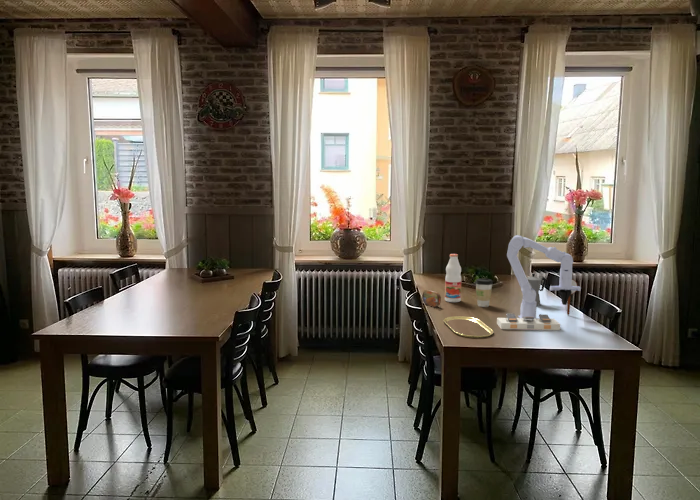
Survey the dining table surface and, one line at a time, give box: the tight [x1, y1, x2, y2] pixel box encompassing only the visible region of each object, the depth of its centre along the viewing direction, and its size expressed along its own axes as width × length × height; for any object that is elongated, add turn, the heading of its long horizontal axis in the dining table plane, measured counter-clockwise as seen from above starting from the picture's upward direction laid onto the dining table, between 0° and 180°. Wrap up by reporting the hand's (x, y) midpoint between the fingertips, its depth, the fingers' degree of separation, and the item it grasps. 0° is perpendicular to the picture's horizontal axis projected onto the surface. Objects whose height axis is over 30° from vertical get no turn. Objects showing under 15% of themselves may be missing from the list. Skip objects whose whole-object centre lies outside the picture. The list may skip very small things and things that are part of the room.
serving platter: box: [443, 315, 494, 339], centre depth 262 cm, size 19×35×2 cm, turn 6°
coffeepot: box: [526, 273, 547, 307], centre depth 310 cm, size 15×9×18 cm, turn 107°
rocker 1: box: [505, 312, 517, 322], centre depth 263 cm, size 6×4×1 cm, turn 176°
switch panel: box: [496, 317, 561, 331], centre depth 263 cm, size 10×28×4 cm, turn 86°
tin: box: [421, 289, 442, 308], centre depth 308 cm, size 15×3×8 cm, turn 27°
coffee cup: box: [474, 278, 494, 308], centre depth 306 cm, size 10×10×15 cm
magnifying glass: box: [566, 278, 579, 317], centre depth 283 cm, size 9×2×20 cm, turn 96°
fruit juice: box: [444, 253, 462, 303], centre depth 317 cm, size 9×9×28 cm
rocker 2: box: [538, 314, 551, 322], centre depth 262 cm, size 6×4×1 cm, turn 176°
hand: (564, 304), depth 270 cm, fingers closed
